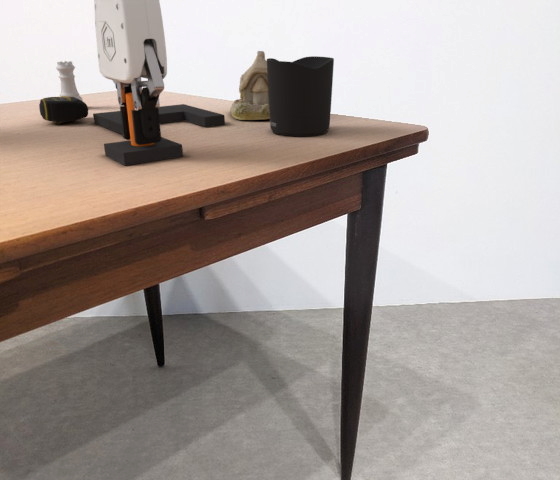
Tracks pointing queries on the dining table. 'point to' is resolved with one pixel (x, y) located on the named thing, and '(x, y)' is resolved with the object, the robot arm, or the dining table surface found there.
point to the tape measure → (62, 109)
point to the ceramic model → (253, 92)
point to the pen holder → (300, 95)
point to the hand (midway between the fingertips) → (142, 139)
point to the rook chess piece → (67, 80)
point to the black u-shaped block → (165, 117)
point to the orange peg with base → (141, 146)
